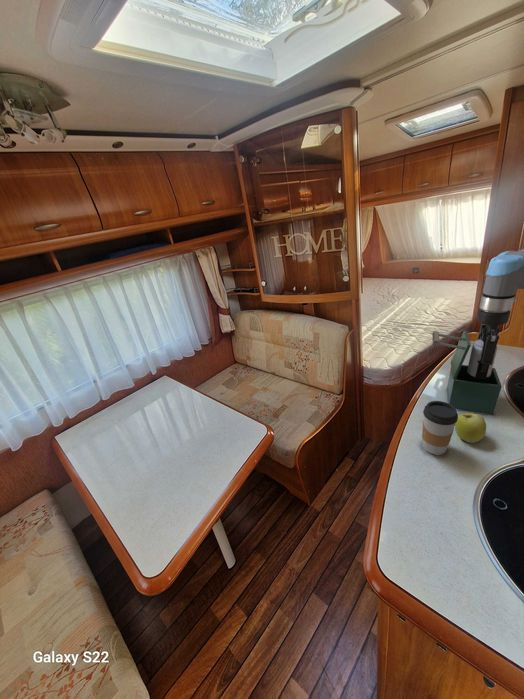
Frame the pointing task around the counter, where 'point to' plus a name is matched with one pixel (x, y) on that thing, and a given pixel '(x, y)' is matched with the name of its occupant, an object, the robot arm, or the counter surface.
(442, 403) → the coffee cup
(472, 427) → the apple
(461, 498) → the counter surface
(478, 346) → the beverage can
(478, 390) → the waste bin
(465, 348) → the bin lid
